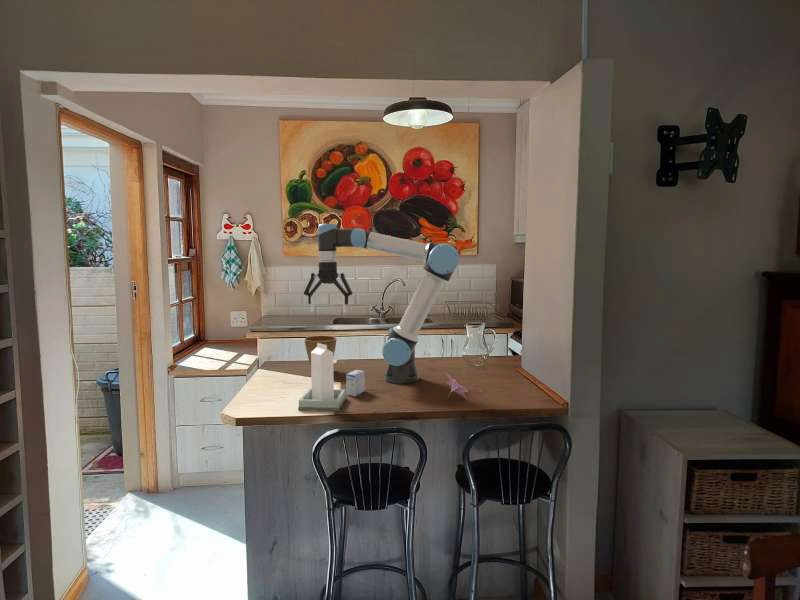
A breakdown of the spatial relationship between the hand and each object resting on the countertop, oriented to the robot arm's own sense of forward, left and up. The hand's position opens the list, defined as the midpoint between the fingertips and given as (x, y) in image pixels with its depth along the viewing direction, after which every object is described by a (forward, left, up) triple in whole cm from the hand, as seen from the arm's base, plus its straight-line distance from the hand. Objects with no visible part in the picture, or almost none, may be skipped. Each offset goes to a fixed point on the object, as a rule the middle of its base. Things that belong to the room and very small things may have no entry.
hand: (328, 312), depth 214 cm
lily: (-53, +13, -32) cm, 64 cm away
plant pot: (+9, -22, -32) cm, 40 cm away
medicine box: (-13, +10, -32) cm, 36 cm away
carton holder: (-3, +25, -32) cm, 40 cm away
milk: (-3, +25, -31) cm, 40 cm away
